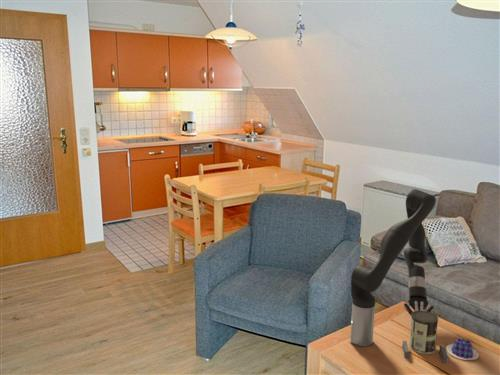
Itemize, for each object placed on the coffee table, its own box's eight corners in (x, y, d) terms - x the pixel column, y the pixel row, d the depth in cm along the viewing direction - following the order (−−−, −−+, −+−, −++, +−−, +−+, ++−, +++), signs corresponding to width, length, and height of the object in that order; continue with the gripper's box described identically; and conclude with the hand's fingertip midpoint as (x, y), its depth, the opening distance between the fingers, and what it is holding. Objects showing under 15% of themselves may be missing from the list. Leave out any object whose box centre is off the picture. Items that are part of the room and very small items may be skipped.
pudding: (477, 349, 184) (479, 337, 183) (479, 364, 173) (480, 352, 172) (446, 342, 189) (447, 331, 188) (445, 357, 178) (447, 345, 177)
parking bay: (404, 358, 177) (405, 351, 176) (402, 347, 184) (402, 340, 184) (447, 363, 173) (448, 356, 173) (443, 351, 181) (443, 345, 181)
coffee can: (432, 342, 188) (435, 311, 186) (437, 355, 179) (440, 323, 176) (407, 339, 190) (409, 309, 188) (410, 352, 181) (413, 321, 178)
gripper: (403, 284, 200) (404, 322, 190) (434, 286, 197) (437, 325, 188) (401, 290, 206) (402, 327, 197) (431, 292, 203) (433, 330, 194)
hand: (419, 326), depth 192 cm, fingers closed
